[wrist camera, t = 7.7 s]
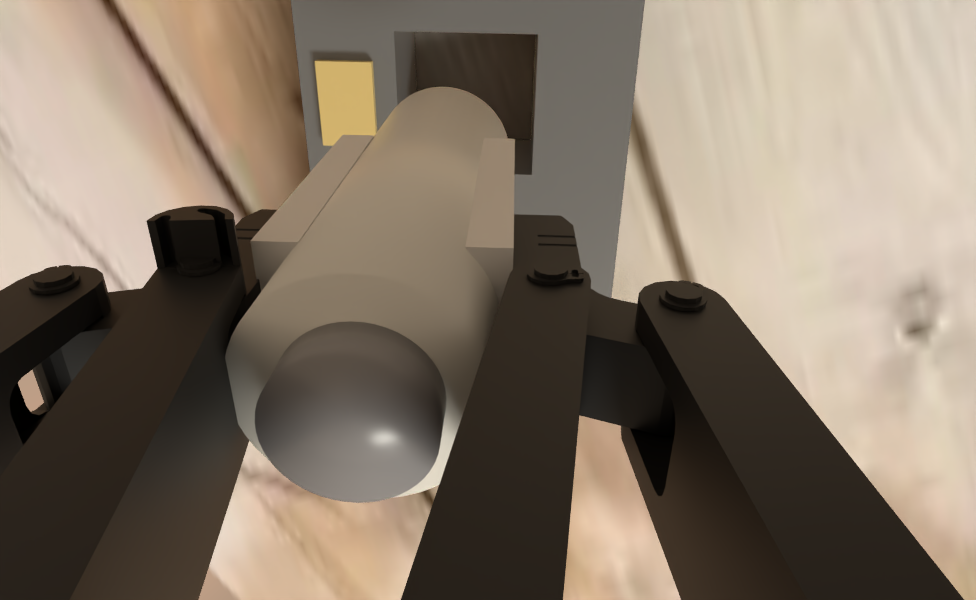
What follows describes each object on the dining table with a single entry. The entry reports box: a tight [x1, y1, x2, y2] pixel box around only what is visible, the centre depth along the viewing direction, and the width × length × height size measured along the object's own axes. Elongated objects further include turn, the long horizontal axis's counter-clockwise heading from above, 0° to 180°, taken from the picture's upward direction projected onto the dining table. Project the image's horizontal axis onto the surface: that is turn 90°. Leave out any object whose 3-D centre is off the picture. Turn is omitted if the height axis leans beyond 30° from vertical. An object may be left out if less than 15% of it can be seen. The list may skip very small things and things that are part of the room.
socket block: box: [291, 0, 645, 298], centre depth 29 cm, size 12×18×5 cm, turn 179°
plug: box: [225, 87, 508, 503], centre depth 14 cm, size 4×4×13 cm
